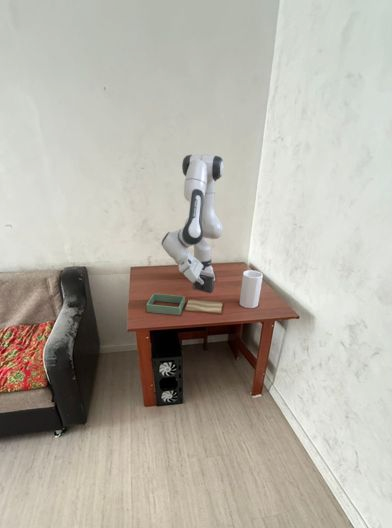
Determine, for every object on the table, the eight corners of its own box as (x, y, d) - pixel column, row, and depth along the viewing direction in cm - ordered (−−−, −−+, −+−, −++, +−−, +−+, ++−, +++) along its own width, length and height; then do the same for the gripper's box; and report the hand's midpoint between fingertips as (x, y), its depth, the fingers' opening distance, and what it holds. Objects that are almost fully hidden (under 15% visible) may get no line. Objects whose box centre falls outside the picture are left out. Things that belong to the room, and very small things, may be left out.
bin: (153, 300, 172) (153, 293, 169) (184, 303, 170) (184, 296, 167) (146, 312, 160) (146, 304, 158) (179, 315, 158) (179, 307, 156)
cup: (243, 309, 165) (247, 278, 154) (236, 300, 174) (239, 270, 163) (261, 307, 168) (266, 276, 157) (253, 298, 176) (257, 269, 165)
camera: (214, 290, 160) (215, 273, 154) (210, 295, 156) (211, 277, 150) (195, 286, 164) (196, 269, 158) (191, 290, 160) (191, 273, 153)
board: (188, 300, 172) (188, 299, 172) (222, 304, 170) (222, 302, 169) (185, 310, 163) (185, 309, 162) (220, 314, 160) (220, 312, 160)
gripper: (185, 258, 161) (202, 276, 166) (178, 272, 145) (197, 292, 150) (194, 250, 158) (210, 269, 163) (187, 264, 142) (206, 284, 147)
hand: (204, 280), depth 156 cm, fingers closed on camera, 6 cm apart
